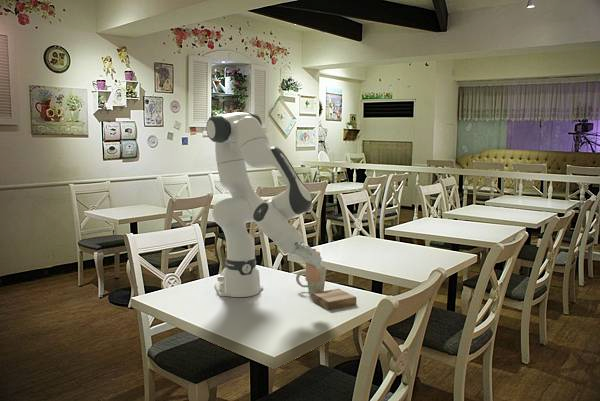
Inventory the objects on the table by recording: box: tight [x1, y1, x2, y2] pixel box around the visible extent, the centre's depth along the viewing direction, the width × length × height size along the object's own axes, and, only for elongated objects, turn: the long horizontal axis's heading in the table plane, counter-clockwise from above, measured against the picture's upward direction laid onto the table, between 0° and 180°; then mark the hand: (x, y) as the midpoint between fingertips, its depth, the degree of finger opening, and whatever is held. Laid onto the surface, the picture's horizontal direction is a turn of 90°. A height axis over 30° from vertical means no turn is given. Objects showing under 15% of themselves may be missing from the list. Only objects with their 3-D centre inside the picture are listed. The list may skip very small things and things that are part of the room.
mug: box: [295, 265, 327, 295], centre depth 203 cm, size 8×13×10 cm, turn 78°
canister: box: [304, 248, 321, 282], centre depth 178 cm, size 5×5×11 cm
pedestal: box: [312, 288, 357, 311], centre depth 190 cm, size 12×12×3 cm
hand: (314, 265), depth 179 cm, fingers closed on canister, 5 cm apart
